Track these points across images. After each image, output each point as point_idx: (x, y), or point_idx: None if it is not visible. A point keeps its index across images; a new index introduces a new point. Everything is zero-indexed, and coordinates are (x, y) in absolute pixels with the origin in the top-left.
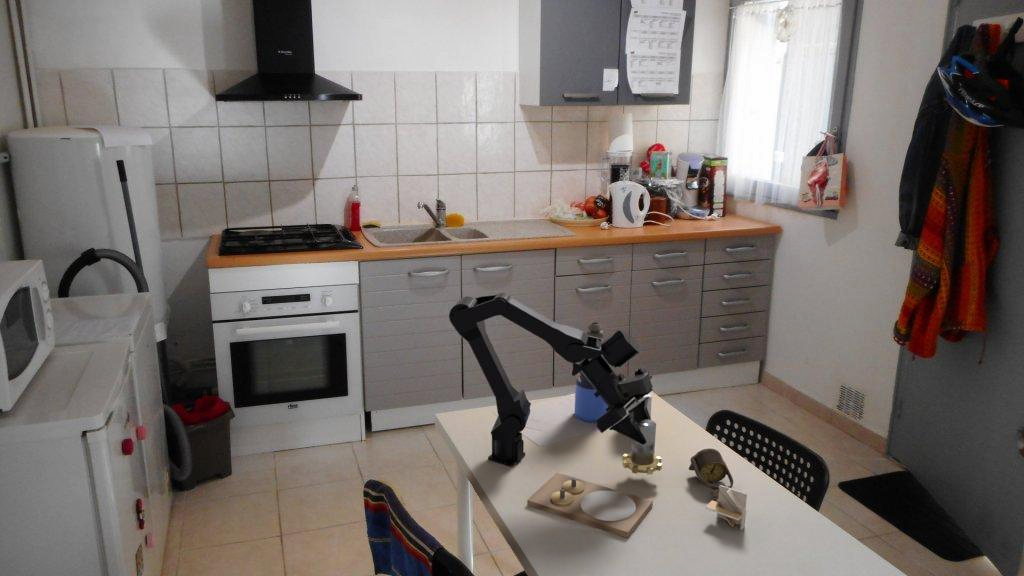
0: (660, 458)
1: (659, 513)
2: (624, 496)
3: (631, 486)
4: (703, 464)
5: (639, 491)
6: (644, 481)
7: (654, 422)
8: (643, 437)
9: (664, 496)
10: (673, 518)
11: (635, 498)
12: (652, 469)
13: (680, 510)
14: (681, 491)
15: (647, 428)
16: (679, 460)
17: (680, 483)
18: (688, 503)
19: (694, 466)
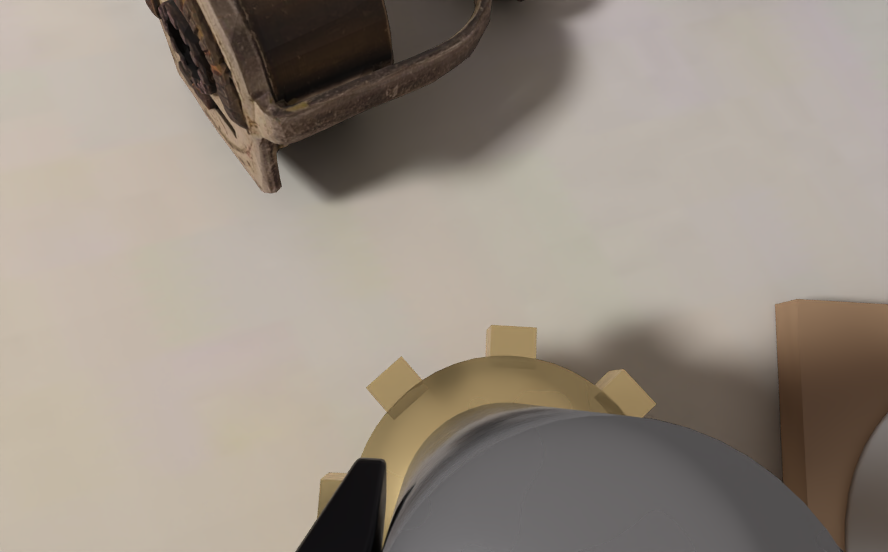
0: (403, 366)
1: (826, 242)
2: (873, 491)
3: None
4: (371, 8)
5: None
6: None
7: (443, 497)
8: None
9: (625, 270)
10: (828, 156)
11: (839, 413)
12: (623, 371)
13: (725, 143)
14: (512, 193)
15: (807, 541)
16: (99, 315)
17: (417, 224)
18: (626, 122)
19: (375, 91)
